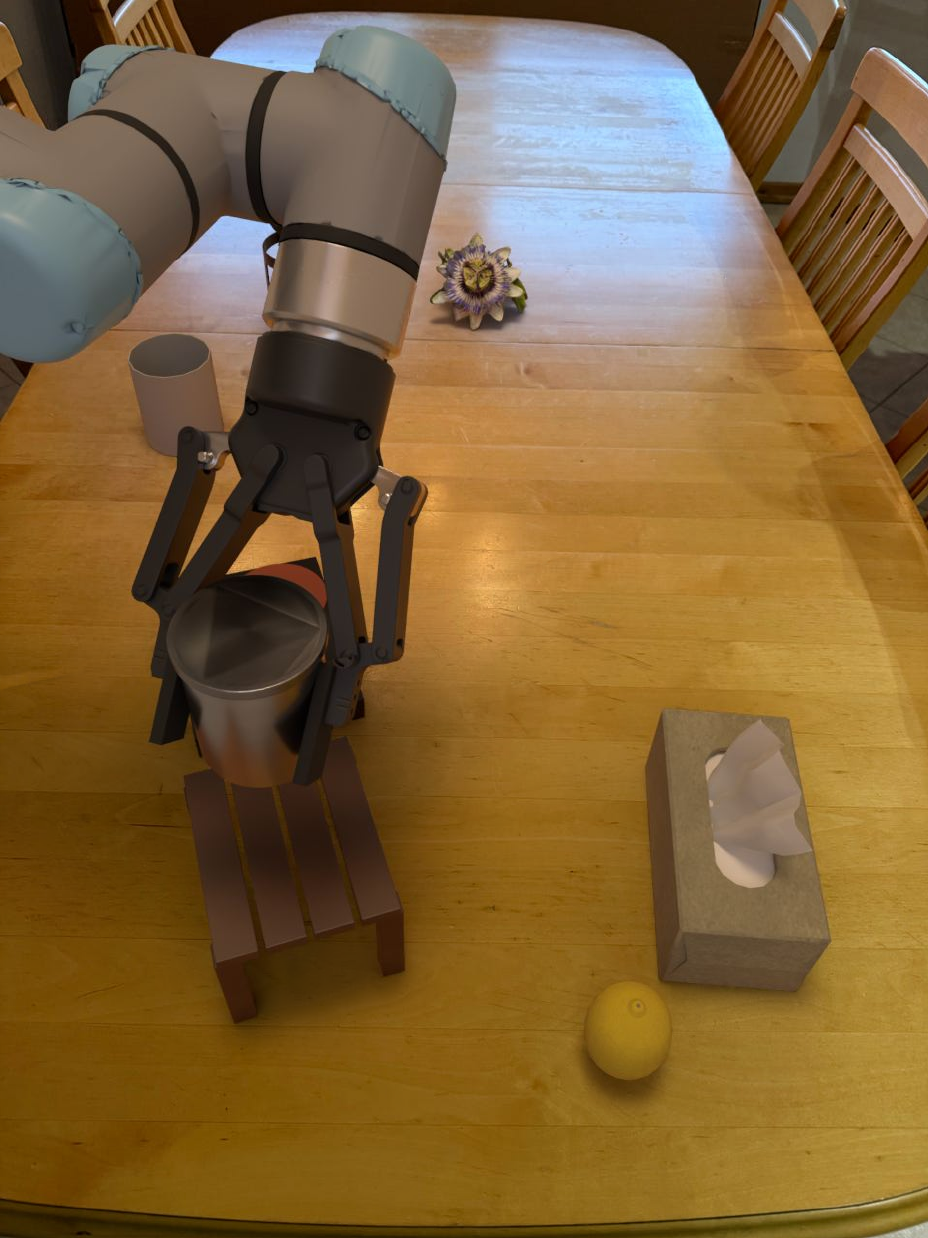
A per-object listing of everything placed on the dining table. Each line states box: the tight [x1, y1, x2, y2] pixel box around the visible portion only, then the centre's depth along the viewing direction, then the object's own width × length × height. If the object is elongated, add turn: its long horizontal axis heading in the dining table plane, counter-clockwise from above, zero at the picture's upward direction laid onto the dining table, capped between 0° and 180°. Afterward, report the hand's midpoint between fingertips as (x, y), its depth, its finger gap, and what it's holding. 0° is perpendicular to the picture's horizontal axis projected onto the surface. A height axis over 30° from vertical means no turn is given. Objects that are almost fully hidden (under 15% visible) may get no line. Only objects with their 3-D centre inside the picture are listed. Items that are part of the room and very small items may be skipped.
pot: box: [167, 574, 329, 788], centre depth 54 cm, size 8×8×9 cm
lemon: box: [583, 980, 673, 1081], centre depth 63 cm, size 6×6×8 cm
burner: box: [246, 563, 327, 609], centre depth 90 cm, size 9×9×1 cm
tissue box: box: [644, 707, 832, 992], centre depth 70 cm, size 19×10×16 cm, turn 176°
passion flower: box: [429, 232, 529, 331], centre depth 127 cm, size 11×11×12 cm
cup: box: [127, 332, 225, 457], centre depth 106 cm, size 8×8×10 cm
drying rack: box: [182, 735, 406, 1024], centre depth 69 cm, size 14×12×10 cm
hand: (236, 759), depth 54 cm, fingers closed on pot, 8 cm apart
